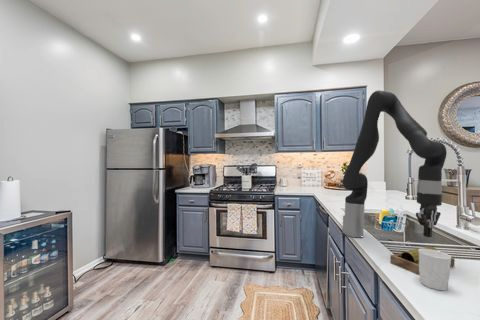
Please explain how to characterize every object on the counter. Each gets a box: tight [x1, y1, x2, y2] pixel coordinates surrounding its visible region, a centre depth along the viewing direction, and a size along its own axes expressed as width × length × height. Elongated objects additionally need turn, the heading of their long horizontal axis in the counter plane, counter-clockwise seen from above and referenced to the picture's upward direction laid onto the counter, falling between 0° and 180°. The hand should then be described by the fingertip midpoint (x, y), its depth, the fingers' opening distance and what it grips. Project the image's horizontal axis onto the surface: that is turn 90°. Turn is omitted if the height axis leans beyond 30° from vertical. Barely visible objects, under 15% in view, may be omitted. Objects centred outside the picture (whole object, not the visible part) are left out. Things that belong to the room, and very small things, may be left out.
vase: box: [400, 245, 439, 264], centre depth 87 cm, size 6×6×14 cm
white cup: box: [419, 249, 452, 291], centre depth 72 cm, size 8×8×10 cm
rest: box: [389, 252, 456, 276], centre depth 87 cm, size 11×21×3 cm, turn 115°
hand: (427, 236), depth 88 cm, fingers closed
